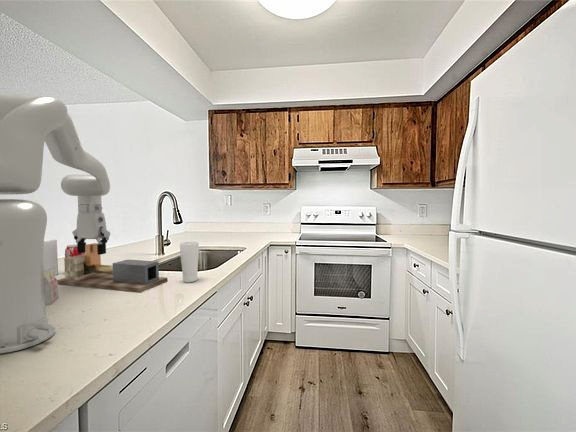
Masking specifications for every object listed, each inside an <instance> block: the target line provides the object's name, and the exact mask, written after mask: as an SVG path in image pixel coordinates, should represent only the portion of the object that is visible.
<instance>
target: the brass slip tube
mask: <svg viewBox="0 0 576 432" xmlns="http://www.w3.org/2000/svg"><path fill="white" fill-rule="evenodd" d="M97 244H99V243H98V242H97V243H95V242H94V243H86V245H85V254H86V264H85V263H84V272H92V273H104V274H113V264H111V265H108V264H101V265H98V264H100V259H101V255H98V253H97Z"/></svg>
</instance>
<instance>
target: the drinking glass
mask: <svg viewBox="0 0 576 432" xmlns="http://www.w3.org/2000/svg"><path fill="white" fill-rule="evenodd" d="M199 246H200V245H199V242H198V241H184V242H183V241H182V242H180V247H179V248H180V255H179V256H180V262H181V269H182V270H181V271H182V282H184V283H194V282H197V280H198V268H199V254H200V252H199V250H200V248H199Z"/></svg>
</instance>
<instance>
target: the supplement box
mask: <svg viewBox="0 0 576 432" xmlns="http://www.w3.org/2000/svg"><path fill="white" fill-rule="evenodd" d="M58 262H59V261H58V240H57V239H53V238H52V239H49V238H48V239H47V238H44V245H43V263H44V271H45V270H47V269H48V268H51V271H52V273H53V274H54V276H57V275H59V263H58Z"/></svg>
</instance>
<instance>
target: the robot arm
mask: <svg viewBox="0 0 576 432" xmlns="http://www.w3.org/2000/svg"><path fill="white" fill-rule="evenodd" d="M45 144H46V147H47V149H48V151H49V153H50V155H51V158H52V159H53V160H54V161H55V162H57V163H59V164H61V165H64V166H67V167H70V168H73V169H76V170H78V171H82V172H84V173H87V174H68V175H67V174H66V175H65V176H64V177H63V178H62V179H61V181H60V188H61V190H62V191H63V193H64V194H66V195H68V196H71V197H73V196H74V197H77V207H78V208H77V216H76V229H74V230H73V231H72V235H73V239H74V240H75V243H76V244H77V251H78V253H85V245H86V244H87V241H86V240H96V242H97V243H99V244H97V253H98V255H100V256H101V255H105V254H107V243H108V241H109V240H110V236H111V232H110V231H109V230H107V223H106V218H105V217H106V216H105V214H104V212H103V206H102V196H103V197H104V196H106V195H108V193H110V190H111V183H110V178H109V176H108V173H107V170H106V168H105V166H104V165H103V163H102V162H100V161H99V160H98V159H97V158H96V157H94V156H93V155H92V154H90V153H89V152H86V151H85V150H84V149H83V145H82V144H81V140H80V138H79V135H78V133H77V130H76V127H75V124H74V122H73V120H72V117H71V116H70V114H69V113H68V108H67V106H66V104H65V103H64V102H63V101H62V100H60V99H59V98H56V97H54V96H46V95H45V96H44V95H35V94H21V93H20V94H19V93H10V92H9V93H7V92H0V195H8V196H9V195H28V194H32V193H35V192H36V191H38V190H39V188H40V185H41V184H42V183H41V182H42V176H43V163H44V162H43V161H44V147H45ZM47 221H48V215H47V212H46V210H45V208H44V207H43V206H42V205H41V204H40V203H37V202H35V201H32V200H28V199H19V198H18V199H16V198H15V199H13V198H12V199H11V198H10V199H9V198H6V199H5V198H1V199H0V354H6V353H11V352H17V351H20V350H24V349H27V348H30V347H34V346H36V345H39V344H41V343H44V342H45V341H47V340H49V339H51V338H52V337H53V336H54V334H55V333H56V327H55V325H53V324H51V323H49V318H48V317H47V310H46V309H47V308H46V307H47V305H45V284H44V263H43V245H44V239H45V235H46V230H47V225H48V224H47V223H48V222H47ZM85 254H86V253H85Z"/></svg>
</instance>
